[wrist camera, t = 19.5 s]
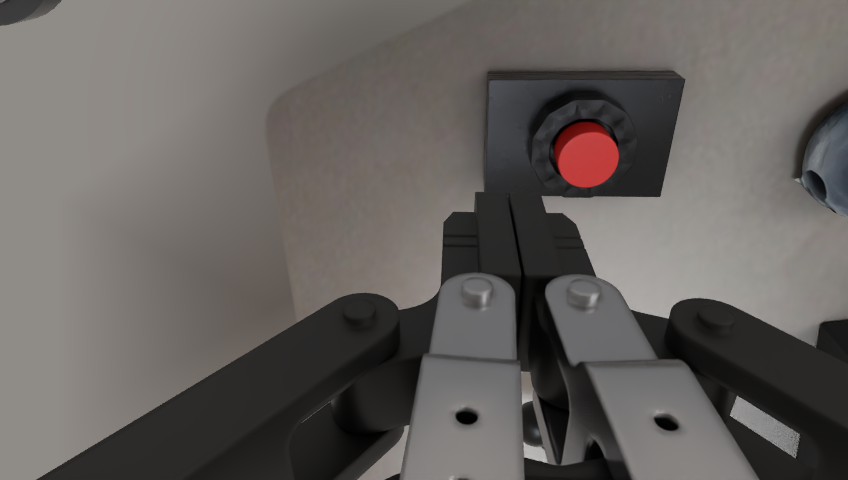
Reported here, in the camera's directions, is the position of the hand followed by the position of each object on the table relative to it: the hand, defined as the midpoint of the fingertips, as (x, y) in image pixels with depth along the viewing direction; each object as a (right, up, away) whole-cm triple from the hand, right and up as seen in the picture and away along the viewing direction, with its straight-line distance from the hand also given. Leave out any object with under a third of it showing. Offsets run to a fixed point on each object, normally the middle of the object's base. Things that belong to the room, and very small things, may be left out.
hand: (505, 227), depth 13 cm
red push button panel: (+8, +7, +25) cm, 27 cm away
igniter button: (+8, +6, +22) cm, 24 cm away
